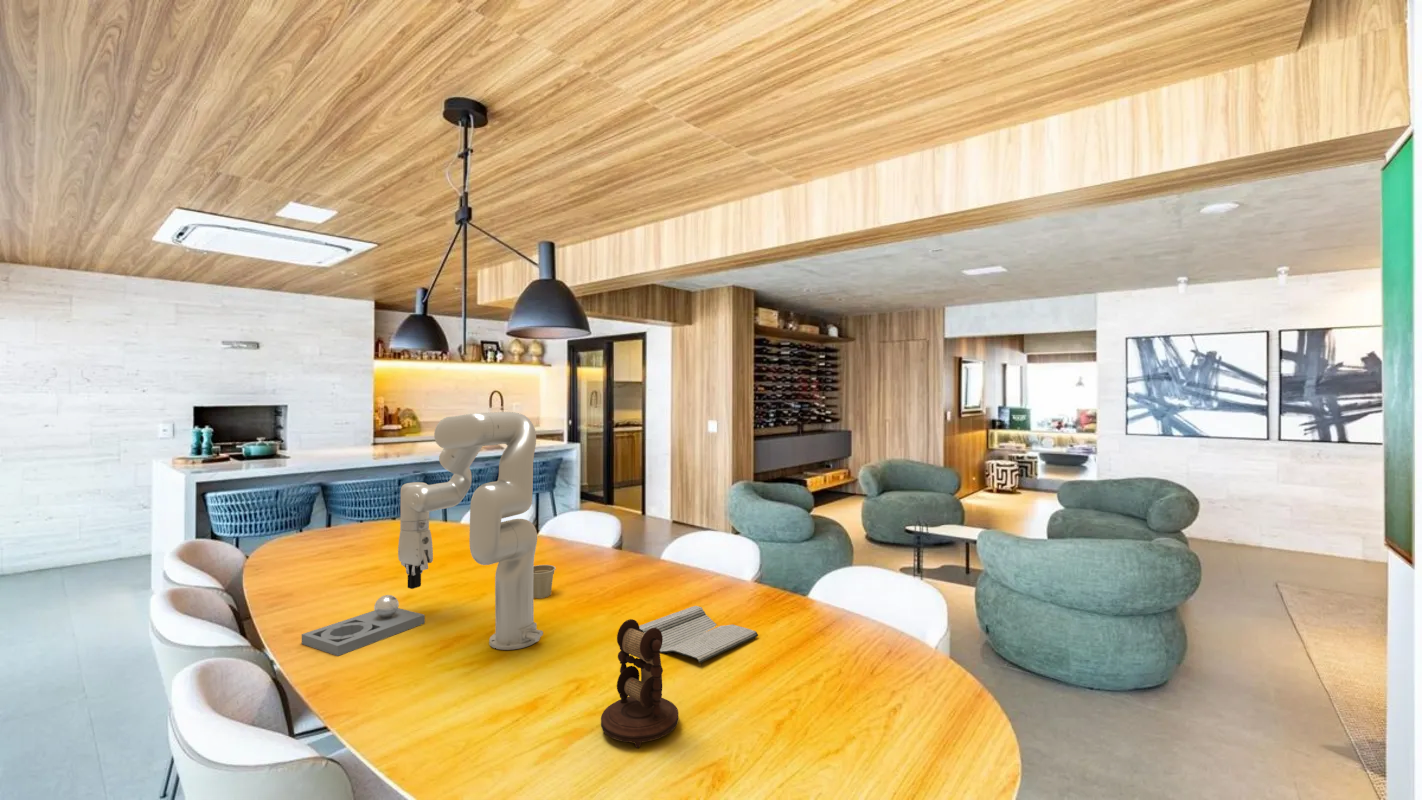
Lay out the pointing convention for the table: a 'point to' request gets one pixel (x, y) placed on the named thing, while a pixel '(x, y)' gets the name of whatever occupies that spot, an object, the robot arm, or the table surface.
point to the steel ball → (386, 606)
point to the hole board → (360, 631)
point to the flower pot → (542, 580)
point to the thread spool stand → (639, 690)
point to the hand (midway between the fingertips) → (414, 587)
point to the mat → (697, 634)
